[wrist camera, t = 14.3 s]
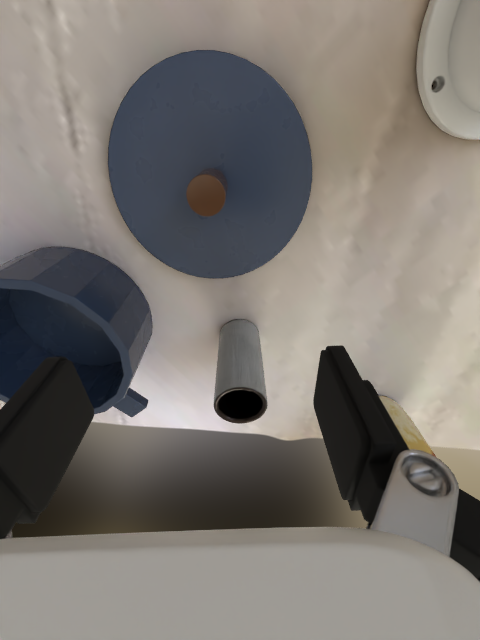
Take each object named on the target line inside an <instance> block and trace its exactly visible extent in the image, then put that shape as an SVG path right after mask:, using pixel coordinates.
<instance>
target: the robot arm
mask: <svg viewBox="0 0 480 640" xmlns="http://www.w3.org/2000/svg"><path fill="white" fill-rule="evenodd" d="M416 72H417V82H418V90H419V94H420V97H421V100H422V104H423V107H424V108H425V110H426V112H427V114H428V115H429V117H430V119H431V120H432V121H433V122H434V123H435V124H436V125H437V126H438V127H439V128H440V129H441V130H442V131H444V132H446V133H448V134H450V135H452V136H453V137H458V138H462V139H467V140H480V0H430V2H429V5H428V8H427V11H426V14H425V17H424V20H423V23H422V28H421V33H420V38H419V43H418V49H417V66H416ZM432 83H433V84H434V87H433V89H432ZM314 409H315V413H316V416H317V419H318V422H319V426H320V429H321V432H322V435H323V439H324V442H325V445H326V448H327V451H328V455H329V458H330V461H331V464H332V468H333V471H334V474H335V478H336V481H337V484H338V487H339V490H340V493H341V496H342V498H343V500H348V502H349V505H350V508H351V510H352V511H353V510H361V512H362V514H363V517H364V519H365V520H366V521H367V522H368V524H367V527H366V529H362V528H346V527H298V528H259V529H229V530H199V531H173V532H148V533H147V532H146V533H121V534H97V535H75V536H51V537H28V538H13V536H12V528H13V526H14V525H15V523H16V522H17V523H18V524H19V523H20V524H22V523H35V522H36V521H37V519H38V517H39V515H40V513H41V512H42V511H44V510H45V509H46V508H47V506H48V504H49V503H50V501H51V499H52V497H53V495H54V493H55V491H56V489H57V487H58V485H59V483H60V481H61V479H62V477H63V475H64V474H65V472H66V470H67V468H68V466H69V464H70V462H71V460H72V458H73V456H74V454H75V452H76V450H77V448H78V446H79V444H80V442H81V440H82V438H83V437H84V434H85V433H86V430H87V429H88V427H89V425H90V423H91V421H92V419H93V416H94V408H93V406H92V404H91V401H90V399H89V397H88V395H87V393H86V391H85V388H84V386H83V384H82V382H81V380H80V378H79V375H78V373H77V371H76V369H75V367H74V365H73V363H72V361H70V360H68V359H67V358H66V357H48V358H46V359H45V360H44V361H43V362H42V363H41V364H40V365H39V366H38V368H37V369H36V370H35V371H34V372H33V373H32V374H31V375H30V377H29V378H28V379H27V380H26V381H25V382H24V383H23V385H22V386H21V387H20V388H19V389H18V390H17V391H16V393H15V394H14V395H13V396H12V397H11V398H10V399H9V401H8V402H7V403H6V404H5V405H4V406H3V407H2V408H1V410H0V640H480V501H479V500H478V499H475V498H474V497H472V496H471V495H469V494H467V493H466V492H464V491H462V490H461V489H459V487H458V482H457V480H456V478H455V476H454V474H453V473H452V472H451V470H450V469H449V467H448V466H447V465H445V464H444V463H443V462H442V461H441V460H440V459H438V458H437V457H435V456H433V455H432V454H429V453H427V452H424V451H422V450H415V449H409V448H408V446H407V444H406V443H405V441H404V439H403V437H402V436H401V434H400V432H399V430H398V429H397V427H396V425H395V423H394V422H393V420H392V418H391V417H390V415H389V413H388V411H387V410H386V408H385V406H384V404H383V403H382V401H381V399H380V398H379V396H378V394H377V392H376V391H375V389H374V387H373V385H372V384H371V383H370V382H369V381H368V380H362V378H361V377H360V375H359V373H358V371H357V369H356V368H355V366H354V364H353V362H352V360H351V358H350V357H349V355H348V353H347V351H346V349H345V348H344V346H327V347H326V350H322V351H321V355H320V361H319V368H318V374H317V381H316V387H315V394H314Z"/></svg>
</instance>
